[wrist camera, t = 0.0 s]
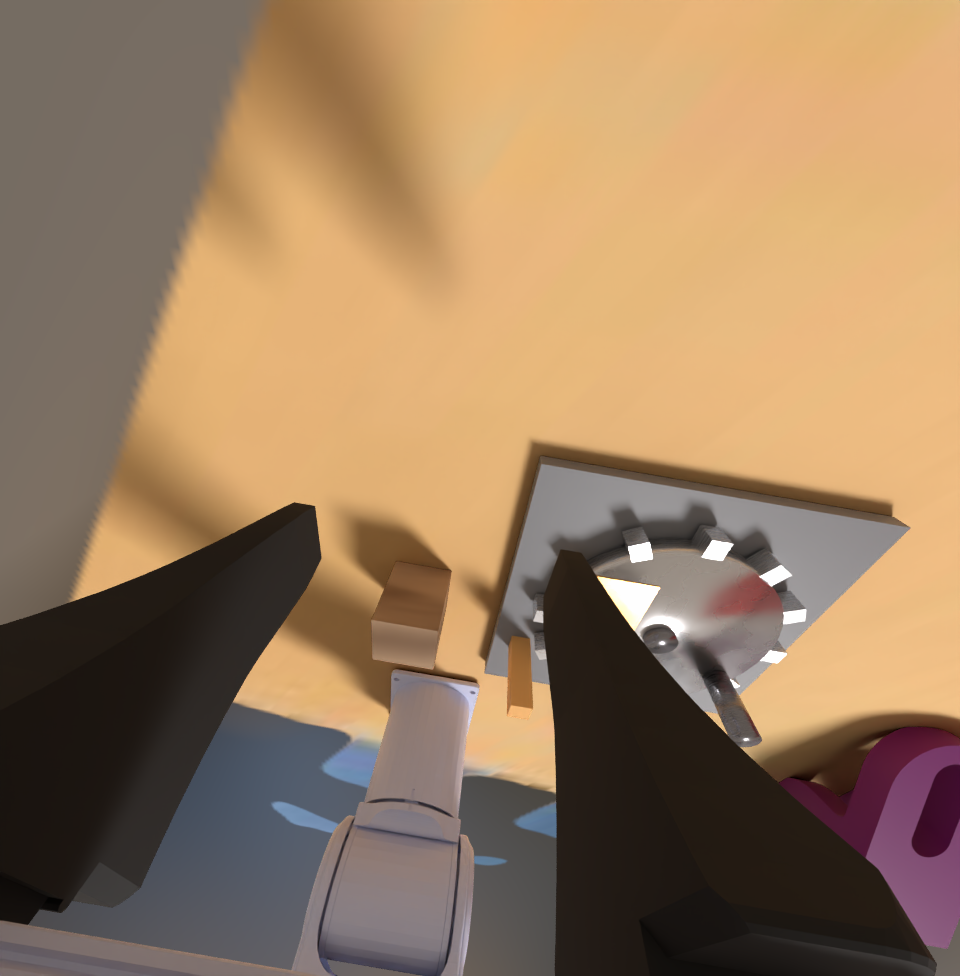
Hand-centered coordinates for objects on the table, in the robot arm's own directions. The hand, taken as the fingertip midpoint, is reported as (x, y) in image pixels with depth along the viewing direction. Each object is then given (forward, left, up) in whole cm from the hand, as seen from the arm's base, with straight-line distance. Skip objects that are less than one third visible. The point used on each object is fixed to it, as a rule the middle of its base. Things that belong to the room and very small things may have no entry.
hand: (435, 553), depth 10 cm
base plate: (-11, -14, -10) cm, 20 cm away
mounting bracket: (-28, -42, -11) cm, 51 cm away
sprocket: (-11, -14, -9) cm, 20 cm away
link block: (-13, +2, -10) cm, 17 cm away
